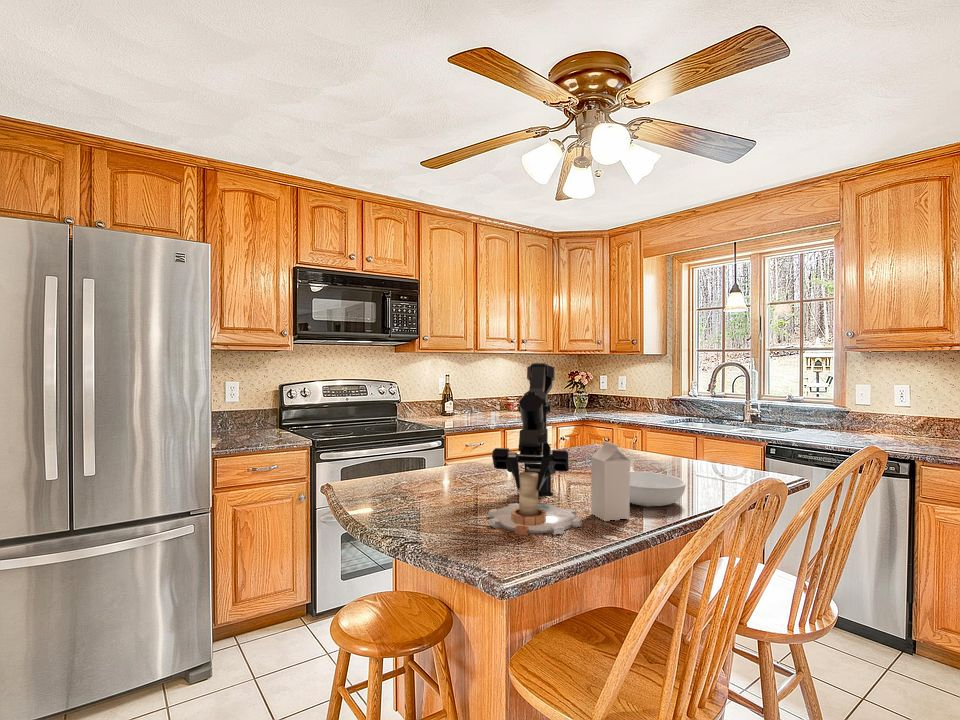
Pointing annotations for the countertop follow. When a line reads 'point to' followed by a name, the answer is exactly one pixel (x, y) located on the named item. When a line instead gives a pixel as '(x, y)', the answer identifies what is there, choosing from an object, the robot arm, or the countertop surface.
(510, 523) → the sprocket wheel
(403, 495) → the countertop surface
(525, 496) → the drive pin
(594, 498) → the milk carton
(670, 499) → the serving bowl
